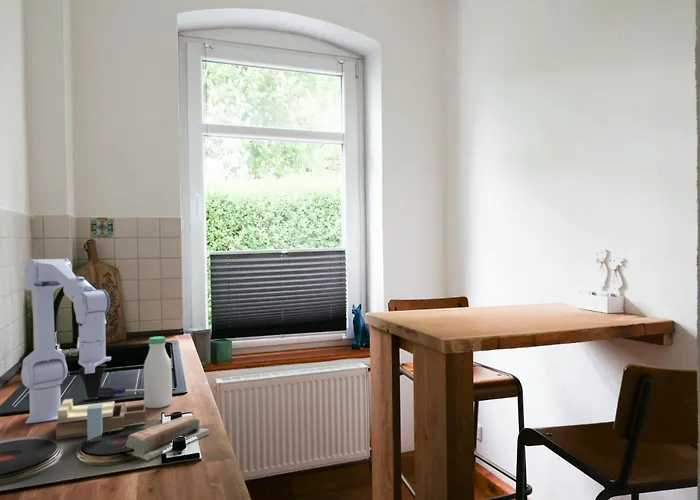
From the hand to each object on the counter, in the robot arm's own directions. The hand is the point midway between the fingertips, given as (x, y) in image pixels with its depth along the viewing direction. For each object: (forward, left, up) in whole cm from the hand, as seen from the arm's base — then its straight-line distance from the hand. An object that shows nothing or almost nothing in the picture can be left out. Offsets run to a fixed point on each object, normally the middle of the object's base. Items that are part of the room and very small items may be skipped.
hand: (93, 396), depth 120 cm
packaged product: (+9, +16, -11) cm, 22 cm away
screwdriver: (-38, +8, -11) cm, 40 cm away
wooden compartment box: (-10, +1, -10) cm, 15 cm away
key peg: (0, 0, -10) cm, 10 cm away
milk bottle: (-23, +15, -11) cm, 29 cm away
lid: (-10, -2, -7) cm, 12 cm away
